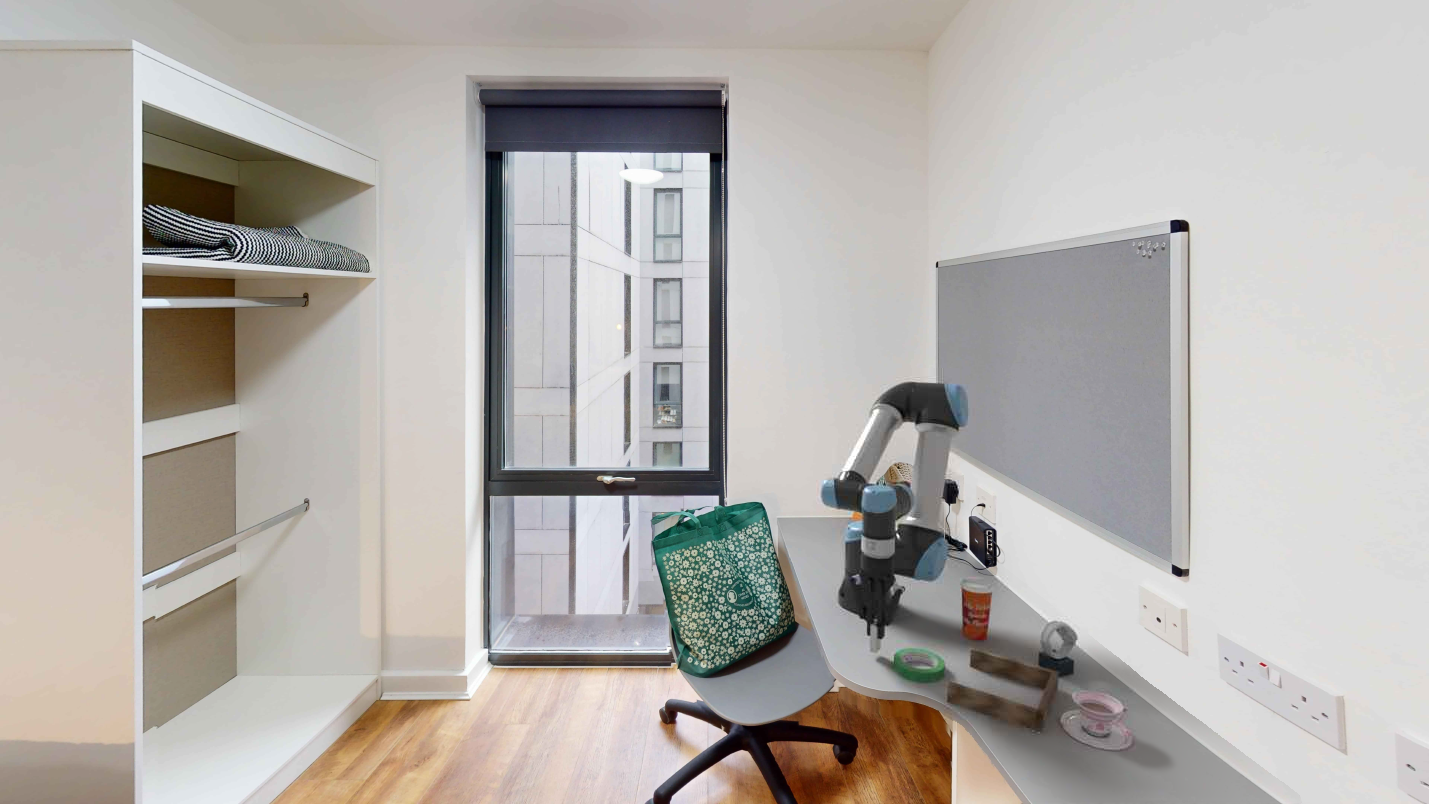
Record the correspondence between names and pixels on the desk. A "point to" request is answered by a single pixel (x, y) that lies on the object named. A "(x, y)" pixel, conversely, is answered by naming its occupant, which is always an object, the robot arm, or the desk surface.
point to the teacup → (1097, 721)
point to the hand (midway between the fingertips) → (875, 649)
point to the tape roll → (917, 673)
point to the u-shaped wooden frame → (1002, 706)
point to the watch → (1059, 658)
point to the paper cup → (976, 607)
